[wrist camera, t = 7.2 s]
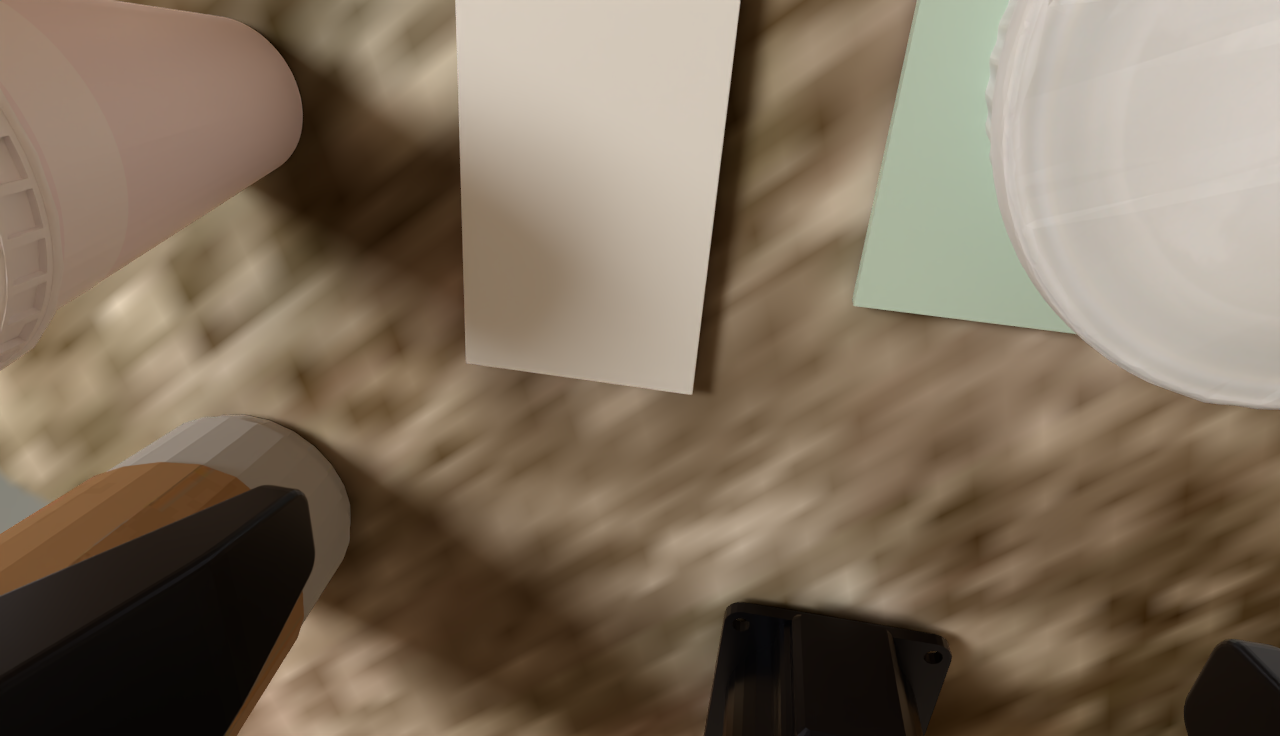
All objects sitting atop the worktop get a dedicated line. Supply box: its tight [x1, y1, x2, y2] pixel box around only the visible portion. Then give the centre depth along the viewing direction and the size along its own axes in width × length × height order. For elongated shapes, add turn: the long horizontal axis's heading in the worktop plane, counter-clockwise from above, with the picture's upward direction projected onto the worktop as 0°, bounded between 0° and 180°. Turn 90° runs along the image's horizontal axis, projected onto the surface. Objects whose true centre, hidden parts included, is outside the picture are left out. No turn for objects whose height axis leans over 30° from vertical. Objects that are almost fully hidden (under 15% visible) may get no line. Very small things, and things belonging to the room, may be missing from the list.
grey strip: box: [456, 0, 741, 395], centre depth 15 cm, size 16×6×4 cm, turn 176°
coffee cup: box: [0, 415, 351, 736], centre depth 18 cm, size 8×8×15 cm
